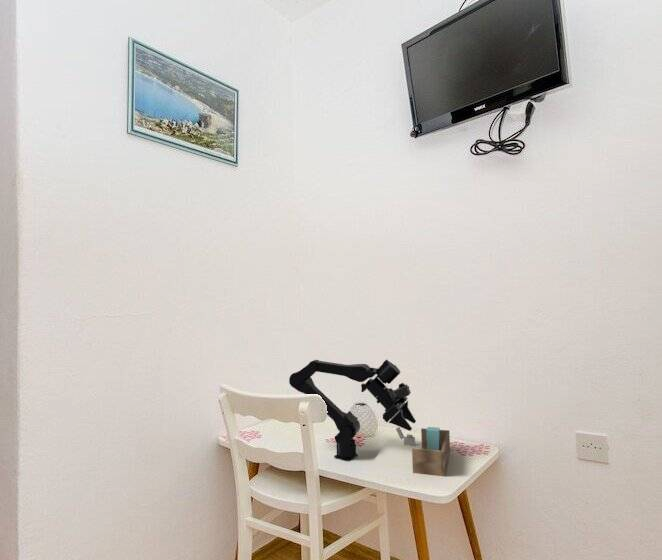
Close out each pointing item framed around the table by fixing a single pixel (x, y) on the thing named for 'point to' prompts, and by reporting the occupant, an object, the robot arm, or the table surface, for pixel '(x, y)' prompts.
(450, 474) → the table surface
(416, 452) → the open box
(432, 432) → the pillar block
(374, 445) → the table surface
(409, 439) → the lighter
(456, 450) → the table surface
